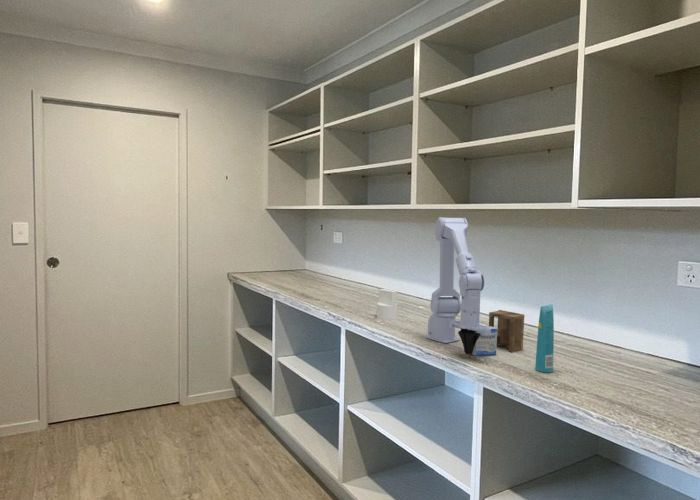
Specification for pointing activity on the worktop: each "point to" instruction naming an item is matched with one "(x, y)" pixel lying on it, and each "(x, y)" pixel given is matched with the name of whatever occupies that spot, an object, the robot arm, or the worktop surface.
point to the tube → (545, 340)
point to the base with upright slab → (387, 305)
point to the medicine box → (486, 343)
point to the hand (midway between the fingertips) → (468, 353)
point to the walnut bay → (509, 329)
